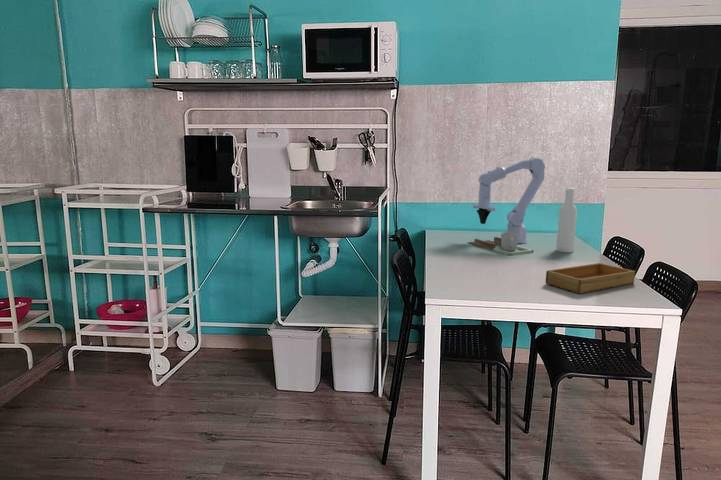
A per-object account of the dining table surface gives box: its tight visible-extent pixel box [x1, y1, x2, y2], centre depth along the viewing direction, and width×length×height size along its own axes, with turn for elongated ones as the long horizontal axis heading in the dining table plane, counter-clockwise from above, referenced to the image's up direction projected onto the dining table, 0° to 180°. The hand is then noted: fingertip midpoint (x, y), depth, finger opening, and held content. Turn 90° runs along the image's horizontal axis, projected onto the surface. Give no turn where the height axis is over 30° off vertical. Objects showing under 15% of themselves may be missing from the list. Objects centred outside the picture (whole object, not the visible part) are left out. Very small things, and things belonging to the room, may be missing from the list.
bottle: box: [555, 187, 578, 254], centre depth 253 cm, size 8×8×30 cm
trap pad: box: [467, 239, 495, 246], centre depth 273 cm, size 14×5×1 cm, turn 117°
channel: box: [473, 236, 501, 251], centre depth 264 cm, size 14×14×3 cm
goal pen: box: [493, 245, 534, 256], centre depth 253 cm, size 14×11×1 cm
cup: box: [500, 231, 518, 252], centre depth 254 cm, size 11×8×8 cm
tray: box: [545, 262, 636, 294], centre depth 198 cm, size 31×15×6 cm, turn 120°
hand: (482, 223), depth 274 cm, fingers closed
